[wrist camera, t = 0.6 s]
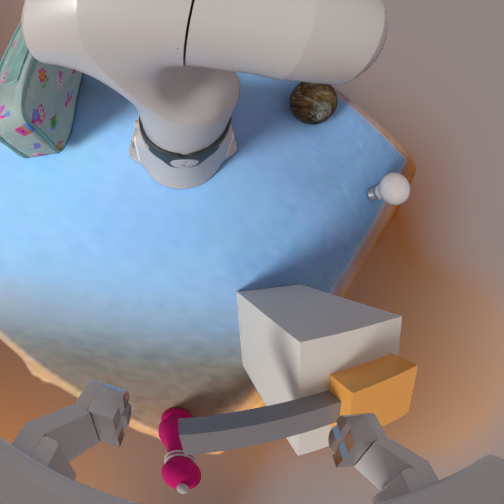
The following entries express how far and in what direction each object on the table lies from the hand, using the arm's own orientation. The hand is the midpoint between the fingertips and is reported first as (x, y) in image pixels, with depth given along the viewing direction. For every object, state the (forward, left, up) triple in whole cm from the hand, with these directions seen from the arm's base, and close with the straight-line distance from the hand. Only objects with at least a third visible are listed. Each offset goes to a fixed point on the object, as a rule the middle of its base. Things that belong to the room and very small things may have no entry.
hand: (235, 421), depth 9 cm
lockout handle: (+9, +8, -12) cm, 17 cm away
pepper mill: (+27, -6, -38) cm, 47 cm away
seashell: (-33, +25, -38) cm, 56 cm away
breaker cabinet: (+9, +14, -38) cm, 41 cm away
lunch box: (-37, -26, -38) cm, 59 cm away
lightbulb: (-15, +38, -38) cm, 55 cm away
